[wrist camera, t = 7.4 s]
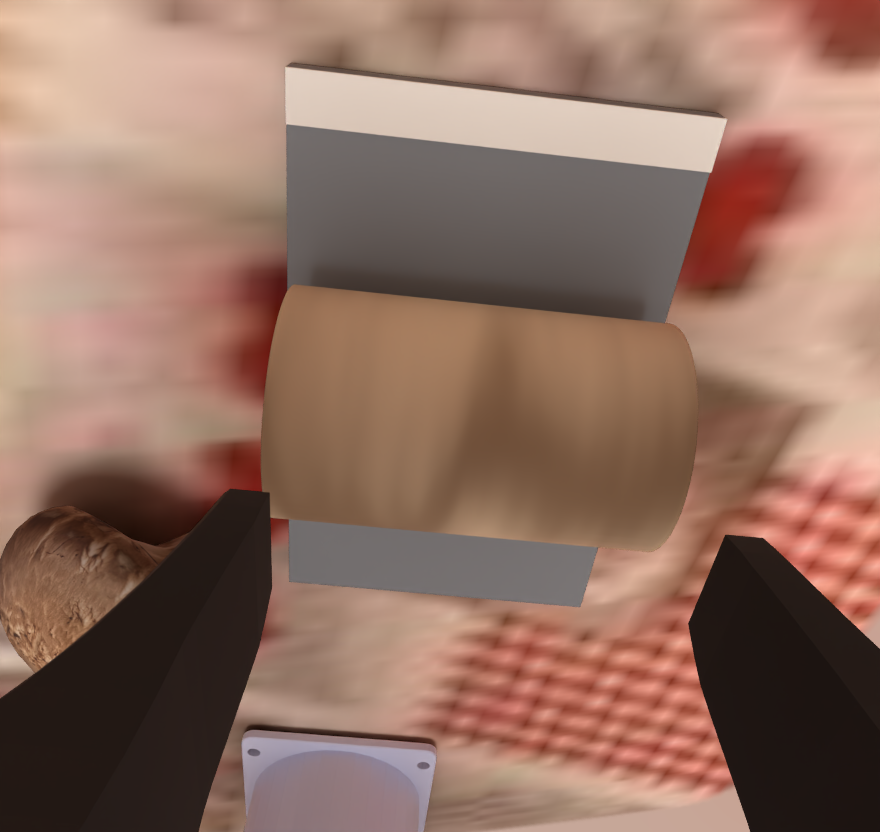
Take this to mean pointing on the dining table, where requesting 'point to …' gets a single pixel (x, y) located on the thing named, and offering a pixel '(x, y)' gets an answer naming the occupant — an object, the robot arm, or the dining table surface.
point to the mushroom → (67, 579)
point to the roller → (477, 420)
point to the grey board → (481, 256)
